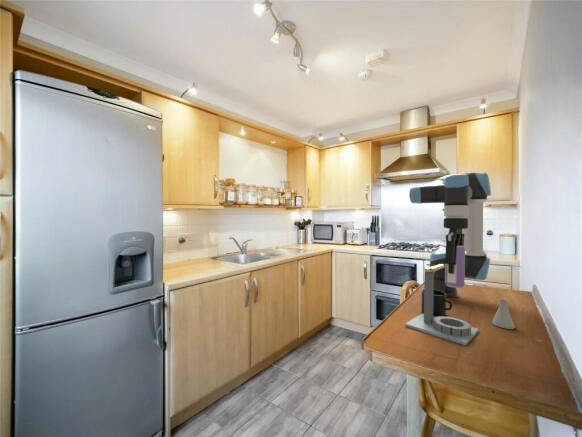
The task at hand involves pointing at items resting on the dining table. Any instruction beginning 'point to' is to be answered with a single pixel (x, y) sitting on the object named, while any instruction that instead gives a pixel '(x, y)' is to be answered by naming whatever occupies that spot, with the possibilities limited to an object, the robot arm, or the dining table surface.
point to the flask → (503, 316)
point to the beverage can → (458, 269)
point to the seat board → (433, 331)
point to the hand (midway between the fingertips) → (454, 280)
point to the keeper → (434, 268)
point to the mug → (438, 303)
